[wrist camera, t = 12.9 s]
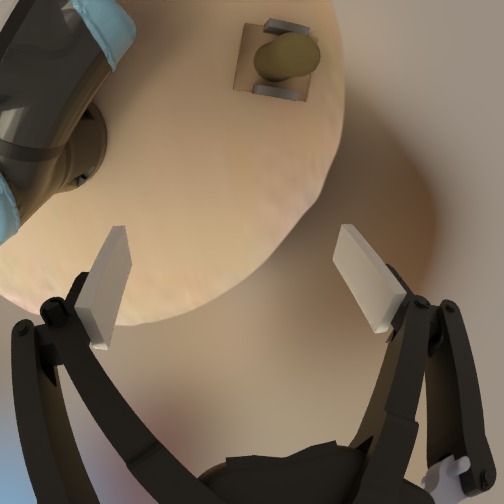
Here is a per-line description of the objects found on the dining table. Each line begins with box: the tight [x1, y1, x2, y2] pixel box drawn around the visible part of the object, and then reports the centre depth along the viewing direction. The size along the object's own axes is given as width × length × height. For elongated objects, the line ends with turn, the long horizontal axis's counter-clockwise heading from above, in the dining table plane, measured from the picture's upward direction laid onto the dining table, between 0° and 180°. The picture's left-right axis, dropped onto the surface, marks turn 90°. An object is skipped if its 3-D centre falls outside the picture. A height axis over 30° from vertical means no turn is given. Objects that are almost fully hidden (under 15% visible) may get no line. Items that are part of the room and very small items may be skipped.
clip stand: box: [233, 18, 317, 102], centre depth 29 cm, size 10×10×5 cm
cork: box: [253, 32, 320, 82], centre depth 26 cm, size 6×6×11 cm
